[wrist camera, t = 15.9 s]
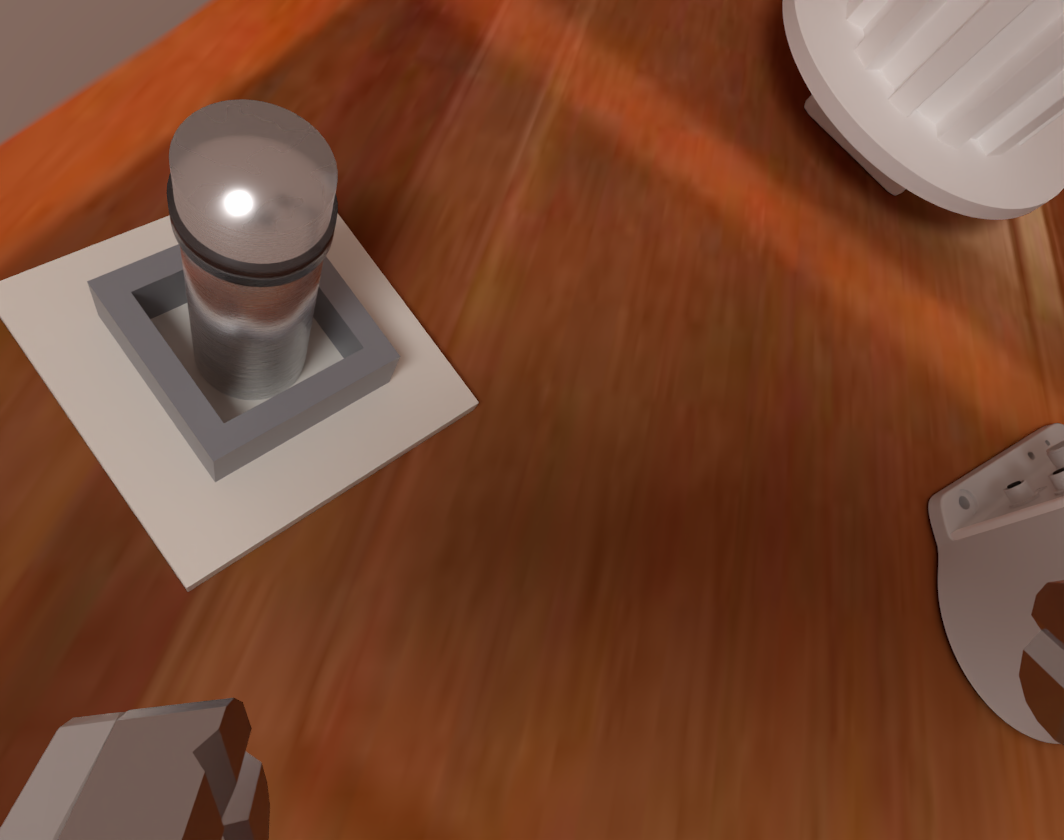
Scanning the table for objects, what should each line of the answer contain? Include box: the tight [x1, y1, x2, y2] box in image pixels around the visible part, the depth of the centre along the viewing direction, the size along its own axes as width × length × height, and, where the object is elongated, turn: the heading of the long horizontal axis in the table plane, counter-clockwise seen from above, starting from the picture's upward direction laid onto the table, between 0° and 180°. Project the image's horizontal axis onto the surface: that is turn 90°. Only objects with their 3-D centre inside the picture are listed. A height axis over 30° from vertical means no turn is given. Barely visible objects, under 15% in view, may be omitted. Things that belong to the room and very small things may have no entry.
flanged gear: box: [782, 0, 1064, 220], centre depth 53 cm, size 25×25×19 cm
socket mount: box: [0, 214, 479, 592], centre depth 36 cm, size 16×16×4 cm
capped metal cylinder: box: [167, 100, 338, 400], centre depth 31 cm, size 5×5×14 cm
